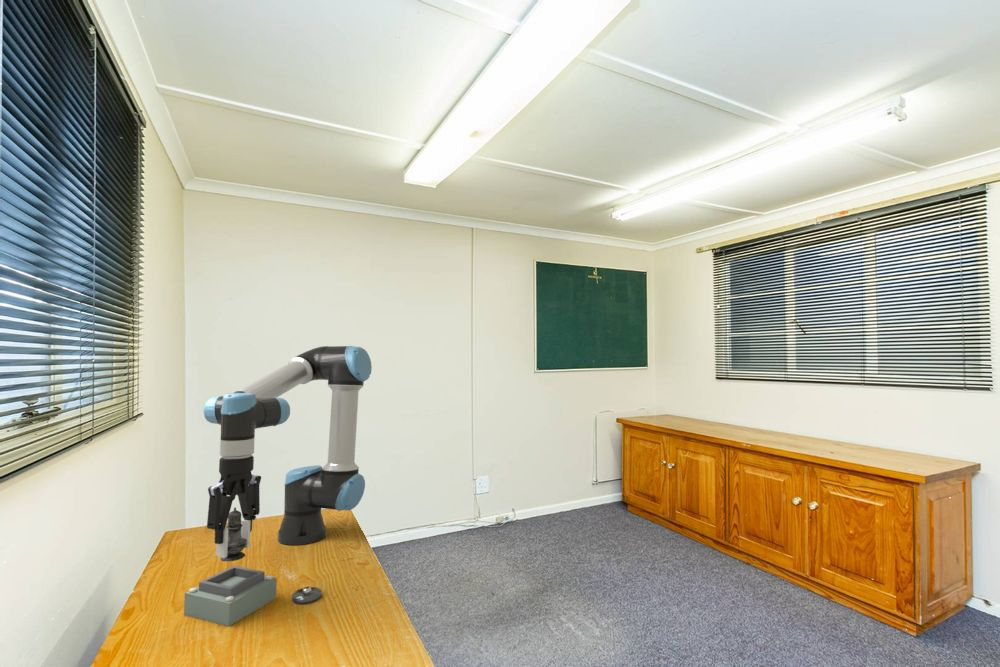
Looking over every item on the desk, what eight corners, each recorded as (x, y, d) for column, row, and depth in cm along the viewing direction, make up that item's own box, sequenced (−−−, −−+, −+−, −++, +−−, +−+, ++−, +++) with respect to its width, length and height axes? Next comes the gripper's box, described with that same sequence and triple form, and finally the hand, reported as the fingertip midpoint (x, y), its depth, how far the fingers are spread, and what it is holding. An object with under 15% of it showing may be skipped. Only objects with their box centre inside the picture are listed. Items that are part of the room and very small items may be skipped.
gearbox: (227, 587, 130) (228, 560, 130) (276, 598, 124) (277, 569, 125) (176, 612, 117) (177, 582, 117) (228, 626, 111) (229, 594, 111)
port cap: (305, 589, 129) (305, 580, 129) (327, 593, 127) (327, 585, 127) (285, 601, 123) (285, 592, 123) (308, 606, 120) (308, 597, 120)
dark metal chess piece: (234, 563, 117) (236, 511, 118) (213, 560, 118) (215, 509, 119) (252, 553, 123) (253, 504, 123) (231, 551, 124) (233, 503, 125)
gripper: (255, 448, 132) (252, 536, 131) (190, 461, 114) (186, 563, 113) (277, 450, 129) (274, 540, 128) (214, 464, 112) (210, 568, 110)
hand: (233, 551), depth 121 cm, fingers closed on dark metal chess piece, 6 cm apart
